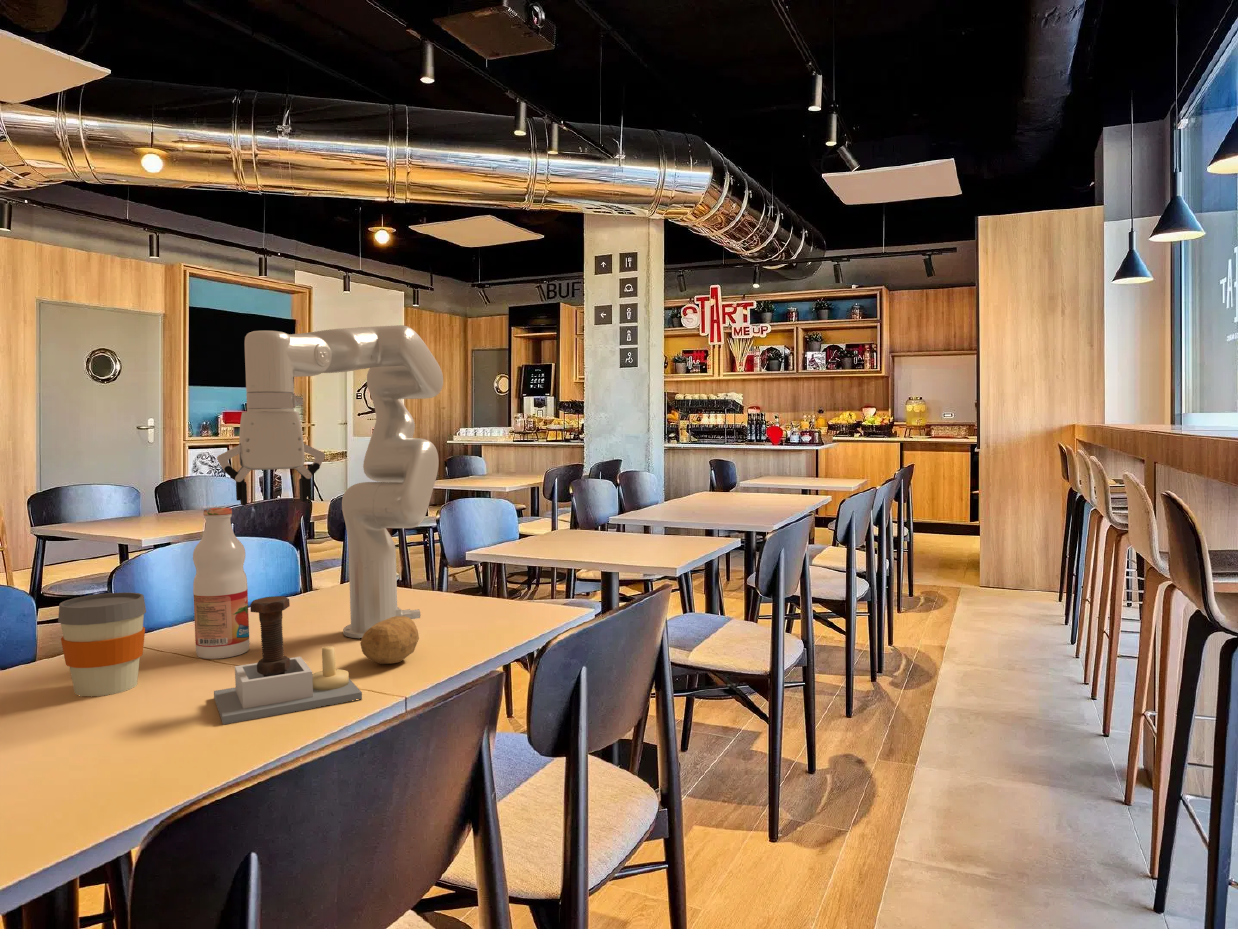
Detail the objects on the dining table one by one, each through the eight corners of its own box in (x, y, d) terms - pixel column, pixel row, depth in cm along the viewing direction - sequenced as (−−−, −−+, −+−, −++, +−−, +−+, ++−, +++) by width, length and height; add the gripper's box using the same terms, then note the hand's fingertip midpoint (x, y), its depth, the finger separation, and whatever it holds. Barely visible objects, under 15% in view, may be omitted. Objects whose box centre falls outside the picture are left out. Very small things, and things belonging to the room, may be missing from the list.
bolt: (265, 688, 135) (259, 596, 134) (297, 686, 135) (292, 594, 134) (252, 700, 129) (246, 604, 128) (285, 698, 129) (280, 602, 128)
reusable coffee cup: (85, 705, 131) (80, 611, 130) (46, 692, 138) (42, 603, 137) (164, 683, 142) (160, 596, 141) (125, 673, 148) (121, 589, 148)
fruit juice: (193, 651, 162) (187, 508, 161) (245, 644, 167) (240, 505, 166) (199, 663, 154) (193, 512, 153) (253, 654, 159) (248, 509, 158)
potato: (430, 651, 160) (429, 610, 159) (403, 673, 146) (402, 628, 145) (381, 650, 161) (379, 609, 160) (350, 672, 147) (349, 627, 146)
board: (342, 677, 144) (340, 636, 143) (362, 699, 132) (360, 654, 131) (214, 698, 134) (212, 654, 133) (222, 724, 122) (221, 676, 121)
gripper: (318, 404, 151) (321, 498, 151) (212, 404, 142) (216, 504, 143) (327, 403, 144) (330, 501, 145) (217, 403, 135) (221, 508, 136)
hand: (274, 502), depth 144 cm, fingers open, 9 cm apart
